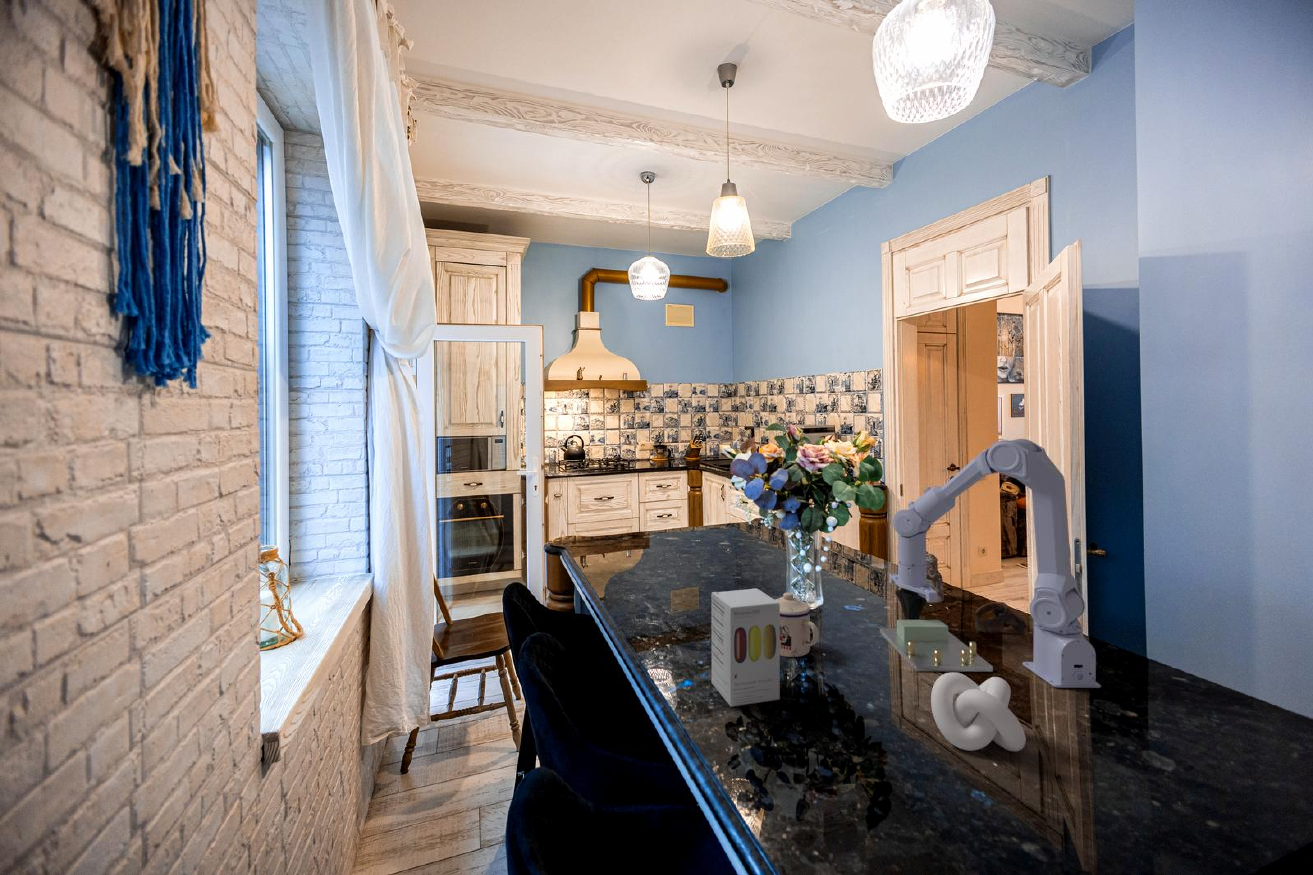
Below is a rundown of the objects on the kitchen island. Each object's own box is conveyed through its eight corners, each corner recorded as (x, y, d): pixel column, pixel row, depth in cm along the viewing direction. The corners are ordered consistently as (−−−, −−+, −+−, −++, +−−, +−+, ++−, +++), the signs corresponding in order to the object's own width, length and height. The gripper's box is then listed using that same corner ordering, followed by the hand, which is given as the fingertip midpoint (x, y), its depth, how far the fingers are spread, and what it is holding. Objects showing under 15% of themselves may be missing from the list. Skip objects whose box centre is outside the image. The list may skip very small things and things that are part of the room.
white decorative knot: (943, 710, 90) (943, 656, 90) (1032, 735, 83) (1032, 676, 83) (925, 742, 82) (925, 682, 81) (1022, 773, 74) (1022, 707, 74)
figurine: (915, 601, 144) (915, 555, 144) (911, 593, 151) (911, 549, 150) (946, 603, 142) (946, 557, 141) (940, 595, 149) (940, 550, 148)
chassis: (992, 671, 104) (992, 653, 104) (916, 671, 104) (916, 653, 104) (944, 632, 123) (944, 617, 123) (880, 632, 123) (880, 617, 123)
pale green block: (948, 641, 116) (948, 626, 116) (904, 640, 116) (904, 626, 116) (939, 633, 120) (939, 619, 120) (896, 633, 120) (896, 619, 120)
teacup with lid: (757, 647, 116) (756, 592, 116) (786, 637, 122) (786, 584, 121) (802, 667, 107) (801, 607, 106) (832, 655, 112) (831, 598, 112)
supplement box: (730, 708, 92) (728, 607, 92) (710, 683, 101) (708, 591, 100) (782, 699, 95) (781, 602, 94) (758, 676, 103) (757, 586, 103)
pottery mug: (1036, 651, 114) (1015, 616, 114) (988, 661, 119) (968, 628, 119) (1030, 618, 124) (1010, 586, 124) (986, 628, 129) (967, 598, 129)
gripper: (950, 570, 116) (950, 634, 116) (908, 554, 130) (908, 611, 131) (919, 572, 115) (920, 637, 115) (880, 555, 129) (881, 613, 130)
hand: (912, 623), depth 123 cm, fingers closed
